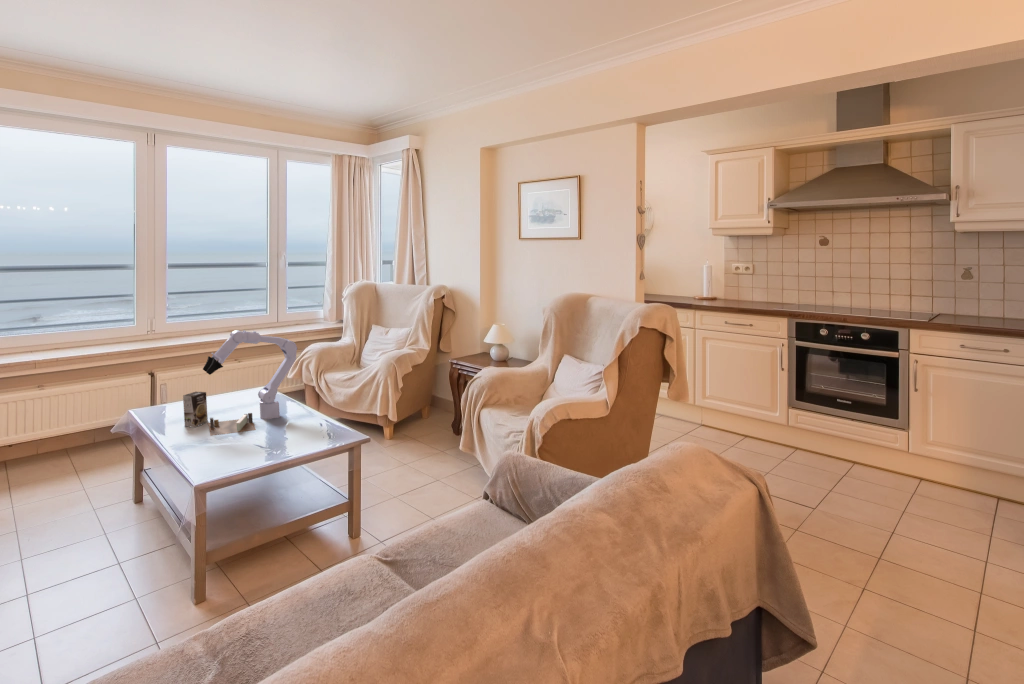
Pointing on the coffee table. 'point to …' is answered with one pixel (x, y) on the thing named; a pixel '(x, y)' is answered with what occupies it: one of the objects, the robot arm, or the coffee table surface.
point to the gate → (242, 422)
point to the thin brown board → (229, 426)
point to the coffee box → (195, 409)
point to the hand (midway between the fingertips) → (206, 372)
